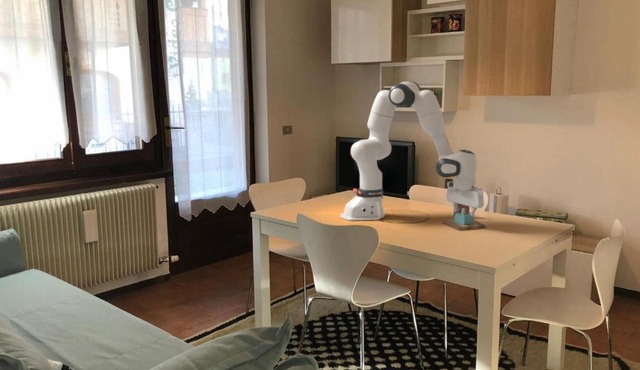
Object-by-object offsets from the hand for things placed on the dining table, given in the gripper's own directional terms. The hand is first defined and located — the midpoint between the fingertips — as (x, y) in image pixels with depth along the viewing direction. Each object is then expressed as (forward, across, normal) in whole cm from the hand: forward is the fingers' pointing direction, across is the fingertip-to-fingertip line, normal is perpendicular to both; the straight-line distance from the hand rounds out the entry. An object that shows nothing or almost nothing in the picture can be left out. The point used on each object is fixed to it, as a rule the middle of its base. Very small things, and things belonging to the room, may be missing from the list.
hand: (464, 214), depth 263 cm
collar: (+4, 0, 0) cm, 4 cm away
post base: (+6, 0, 0) cm, 6 cm away
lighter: (+6, +13, -12) cm, 19 cm away
